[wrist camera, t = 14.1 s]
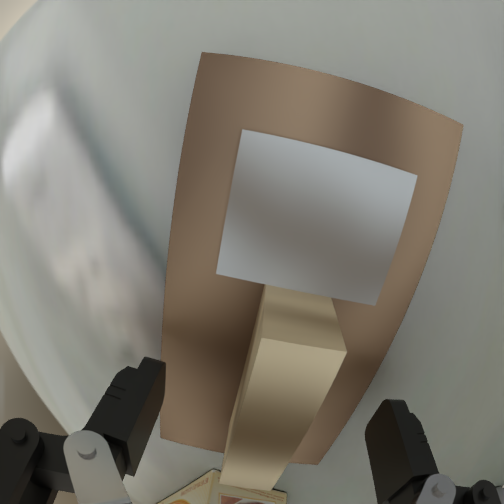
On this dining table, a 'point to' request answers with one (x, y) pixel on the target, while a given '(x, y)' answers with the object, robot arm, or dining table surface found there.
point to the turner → (300, 283)
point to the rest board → (249, 293)
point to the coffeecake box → (222, 493)
